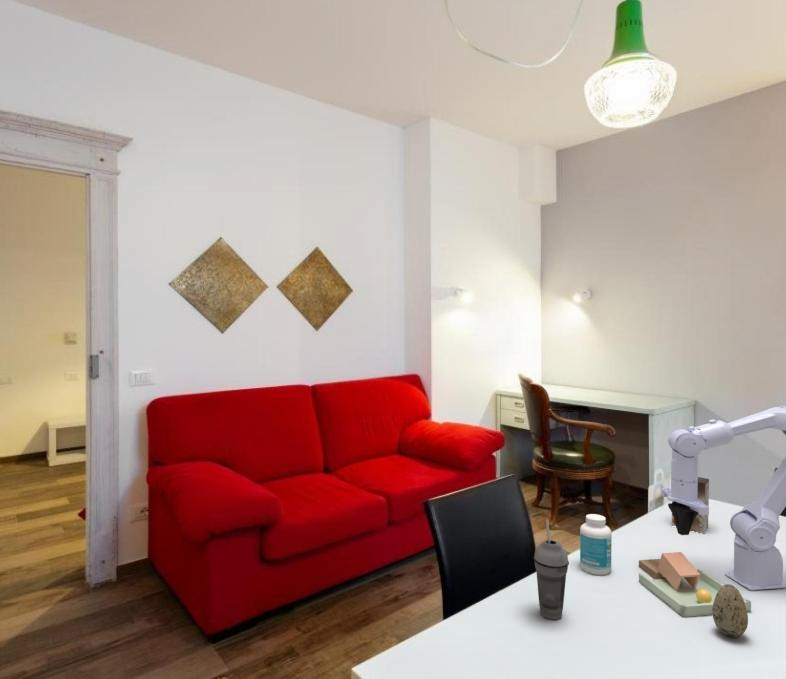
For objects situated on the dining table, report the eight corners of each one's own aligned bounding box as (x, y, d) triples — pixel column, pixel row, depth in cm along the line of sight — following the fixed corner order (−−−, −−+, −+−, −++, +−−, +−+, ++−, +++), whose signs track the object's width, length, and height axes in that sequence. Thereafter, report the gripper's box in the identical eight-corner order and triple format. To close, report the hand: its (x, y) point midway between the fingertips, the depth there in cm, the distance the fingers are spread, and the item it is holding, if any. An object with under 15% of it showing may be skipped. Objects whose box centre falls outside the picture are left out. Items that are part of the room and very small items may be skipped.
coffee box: (670, 529, 158) (670, 477, 158) (675, 523, 163) (675, 472, 162) (704, 537, 152) (705, 482, 152) (709, 530, 157) (709, 478, 156)
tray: (699, 578, 127) (699, 569, 127) (751, 611, 111) (751, 601, 111) (638, 582, 125) (638, 573, 124) (682, 617, 109) (682, 607, 109)
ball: (714, 591, 113) (715, 606, 112) (705, 587, 116) (705, 601, 115) (702, 592, 112) (703, 606, 112) (692, 587, 115) (693, 601, 115)
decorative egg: (740, 647, 99) (740, 595, 99) (707, 632, 103) (707, 583, 103) (753, 636, 102) (753, 586, 102) (719, 623, 107) (720, 575, 107)
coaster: (664, 566, 133) (664, 558, 133) (682, 579, 126) (682, 571, 126) (638, 567, 132) (638, 560, 132) (656, 581, 125) (656, 572, 125)
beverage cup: (550, 626, 106) (551, 529, 106) (526, 609, 112) (526, 518, 112) (576, 617, 109) (576, 523, 109) (551, 601, 116) (551, 512, 115)
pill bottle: (614, 578, 127) (614, 523, 126) (582, 575, 128) (582, 521, 128) (607, 564, 134) (608, 512, 134) (578, 562, 135) (578, 511, 135)
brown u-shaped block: (681, 552, 125) (700, 574, 119) (676, 568, 127) (695, 591, 120) (662, 553, 124) (680, 575, 118) (657, 569, 126) (675, 592, 120)
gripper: (650, 471, 134) (650, 523, 134) (689, 488, 120) (688, 546, 120) (675, 471, 135) (675, 522, 135) (717, 487, 121) (716, 545, 121)
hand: (683, 534), depth 128 cm, fingers closed
